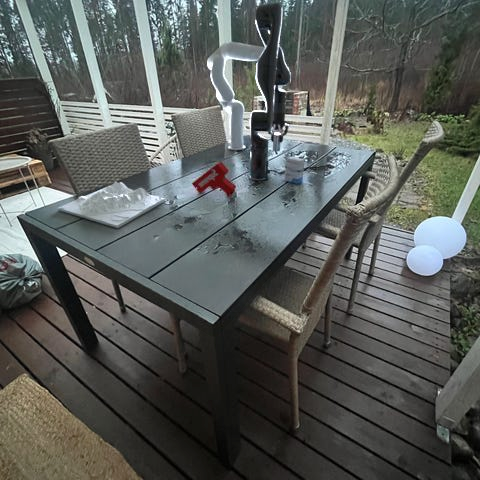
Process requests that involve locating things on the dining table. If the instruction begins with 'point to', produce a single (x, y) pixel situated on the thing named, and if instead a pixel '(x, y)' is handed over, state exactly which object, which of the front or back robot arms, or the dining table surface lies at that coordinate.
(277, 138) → the metal cylinder
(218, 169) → the toy gun
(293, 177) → the ink box
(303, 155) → the dining table surface
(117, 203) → the relief map
